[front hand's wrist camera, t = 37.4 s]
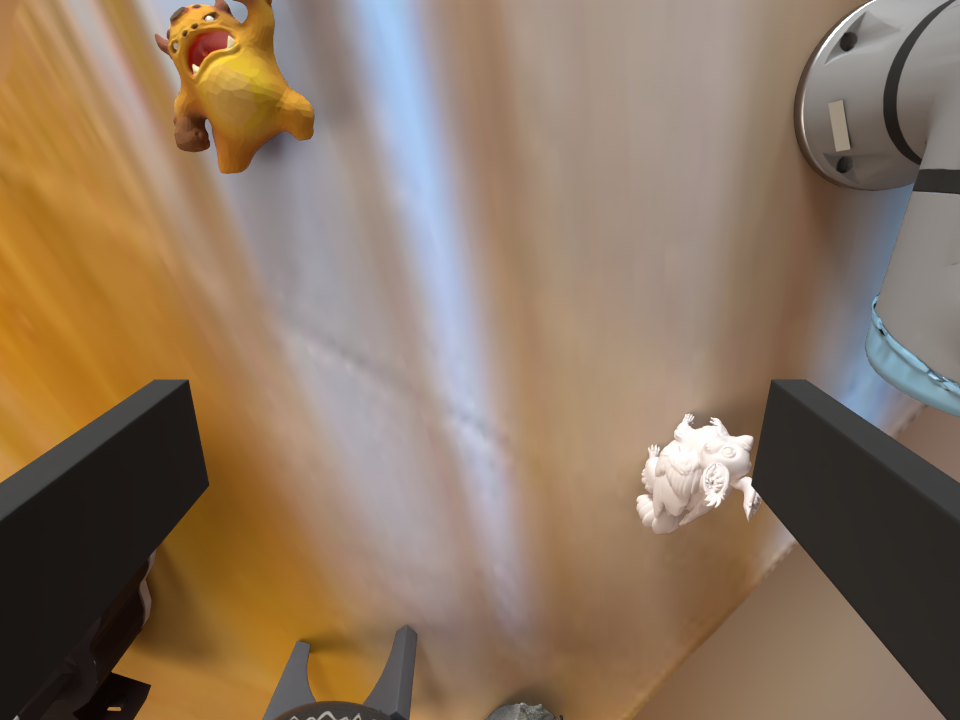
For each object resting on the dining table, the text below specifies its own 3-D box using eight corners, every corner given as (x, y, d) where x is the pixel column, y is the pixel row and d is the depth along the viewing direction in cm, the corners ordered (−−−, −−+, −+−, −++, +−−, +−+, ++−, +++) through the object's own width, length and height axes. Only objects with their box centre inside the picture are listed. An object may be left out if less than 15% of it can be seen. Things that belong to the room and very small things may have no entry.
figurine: (743, 409, 57) (813, 475, 45) (679, 523, 62) (726, 609, 50) (673, 385, 56) (725, 446, 44) (613, 503, 61) (645, 586, 49)
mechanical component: (-225, 807, 46) (-211, 545, 37) (-14, 614, 66) (29, 411, 57) (36, 875, 50) (109, 649, 40) (163, 671, 69) (231, 488, 60)
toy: (178, 181, 46) (111, -31, 40) (234, 173, 51) (182, -14, 46) (285, 165, 42) (226, -73, 36) (333, 159, 47) (288, -48, 42)
